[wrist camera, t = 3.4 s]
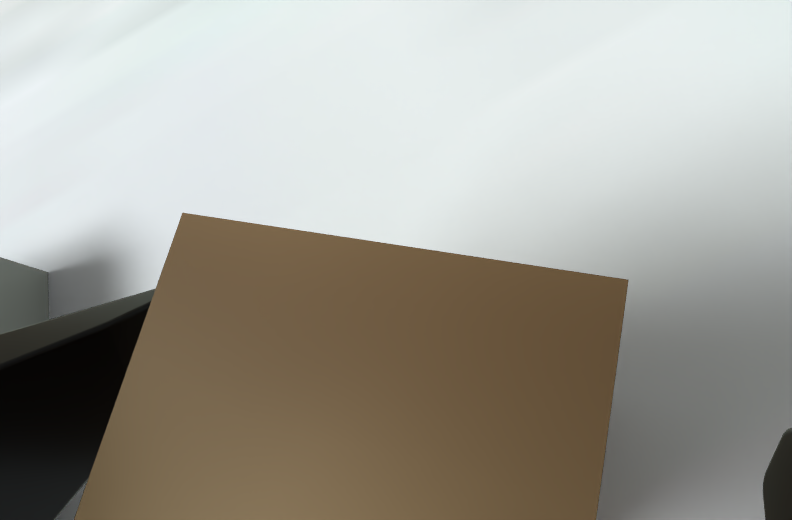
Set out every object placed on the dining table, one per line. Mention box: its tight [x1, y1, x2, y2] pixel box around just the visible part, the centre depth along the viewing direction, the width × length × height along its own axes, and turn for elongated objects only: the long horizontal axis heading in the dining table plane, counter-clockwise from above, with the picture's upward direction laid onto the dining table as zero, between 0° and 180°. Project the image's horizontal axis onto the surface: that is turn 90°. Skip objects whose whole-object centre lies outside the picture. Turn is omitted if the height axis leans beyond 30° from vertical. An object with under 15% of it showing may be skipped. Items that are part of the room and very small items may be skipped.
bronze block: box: [74, 213, 628, 520], centre depth 9 cm, size 4×4×10 cm
